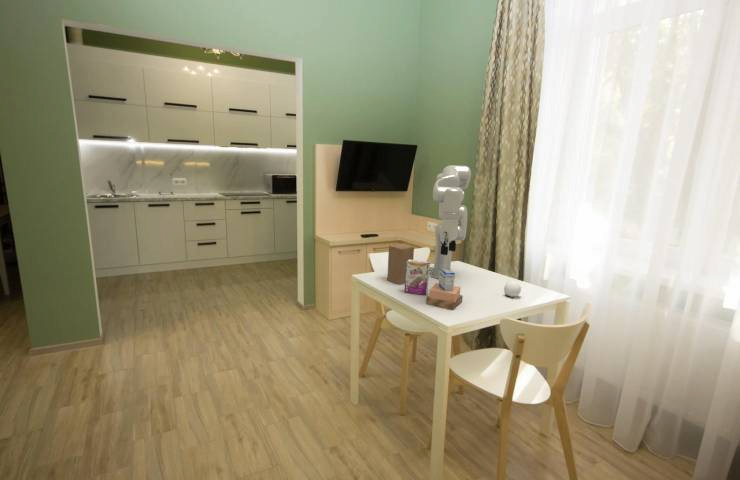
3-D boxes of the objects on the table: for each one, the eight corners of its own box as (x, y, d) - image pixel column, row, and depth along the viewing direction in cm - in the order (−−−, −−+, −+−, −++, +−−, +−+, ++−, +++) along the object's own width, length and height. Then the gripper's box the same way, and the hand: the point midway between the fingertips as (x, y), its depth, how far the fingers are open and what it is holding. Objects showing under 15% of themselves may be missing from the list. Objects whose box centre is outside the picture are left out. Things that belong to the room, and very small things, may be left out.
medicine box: (438, 285, 181) (439, 268, 179) (447, 285, 182) (448, 268, 180) (444, 291, 173) (446, 272, 171) (453, 290, 174) (455, 272, 172)
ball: (520, 299, 187) (522, 284, 185) (503, 297, 189) (505, 282, 188) (519, 294, 194) (521, 280, 193) (503, 292, 197) (504, 278, 195)
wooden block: (399, 285, 203) (401, 248, 199) (386, 280, 210) (388, 245, 207) (412, 281, 210) (414, 246, 206) (399, 277, 217) (401, 243, 213)
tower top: (429, 298, 175) (429, 289, 174) (435, 290, 186) (435, 282, 185) (455, 302, 170) (455, 294, 169) (459, 294, 181) (460, 286, 180)
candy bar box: (404, 292, 191) (405, 261, 188) (406, 289, 196) (408, 259, 193) (426, 295, 188) (428, 263, 184) (427, 292, 192) (430, 261, 189)
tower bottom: (426, 305, 176) (426, 297, 176) (436, 297, 187) (437, 290, 187) (452, 311, 170) (453, 303, 169) (462, 303, 181) (462, 295, 180)
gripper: (450, 213, 180) (447, 248, 184) (435, 217, 166) (432, 254, 169) (465, 215, 176) (462, 250, 180) (451, 218, 162) (448, 257, 165)
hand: (448, 252), depth 174 cm, fingers open, 9 cm apart
